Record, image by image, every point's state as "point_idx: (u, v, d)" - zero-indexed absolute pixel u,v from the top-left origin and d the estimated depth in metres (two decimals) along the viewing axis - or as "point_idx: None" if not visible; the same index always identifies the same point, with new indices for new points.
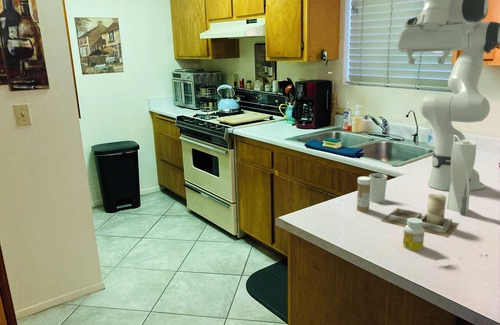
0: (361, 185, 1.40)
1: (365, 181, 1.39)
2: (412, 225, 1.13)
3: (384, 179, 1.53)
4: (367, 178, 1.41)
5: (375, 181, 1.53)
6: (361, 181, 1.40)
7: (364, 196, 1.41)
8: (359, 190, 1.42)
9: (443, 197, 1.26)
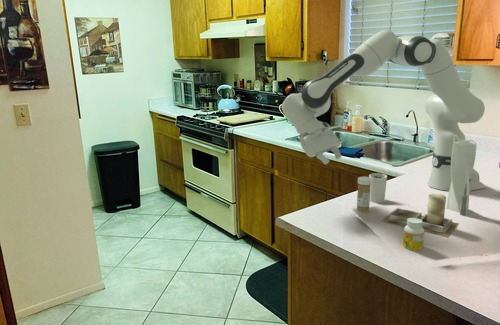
0: (361, 185, 1.40)
1: (365, 181, 1.39)
2: (412, 225, 1.13)
3: (384, 179, 1.53)
4: (367, 178, 1.41)
5: (375, 181, 1.53)
6: (361, 181, 1.40)
7: (364, 196, 1.41)
8: (359, 190, 1.42)
9: (443, 197, 1.26)
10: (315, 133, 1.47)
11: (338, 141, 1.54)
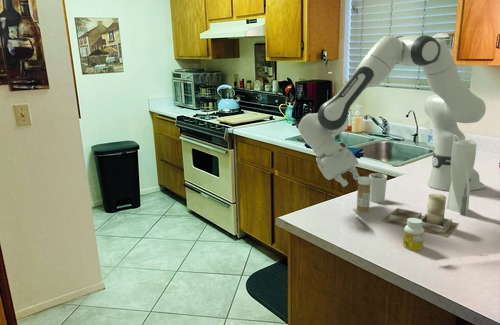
0: (361, 185, 1.40)
1: (365, 181, 1.39)
2: (412, 225, 1.13)
3: (384, 179, 1.53)
4: (367, 178, 1.41)
5: (375, 181, 1.53)
6: (361, 181, 1.40)
7: (364, 196, 1.41)
8: (359, 190, 1.42)
9: (443, 197, 1.26)
10: (333, 154, 1.45)
11: (356, 161, 1.52)
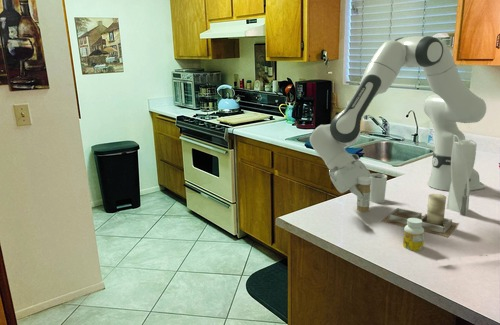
0: (361, 185, 1.40)
1: (365, 181, 1.39)
2: (412, 225, 1.13)
3: (384, 179, 1.53)
4: (367, 178, 1.41)
5: (375, 181, 1.53)
6: (361, 181, 1.40)
7: (364, 196, 1.41)
8: (359, 190, 1.42)
9: (443, 197, 1.26)
10: (345, 167, 1.43)
11: (368, 173, 1.49)
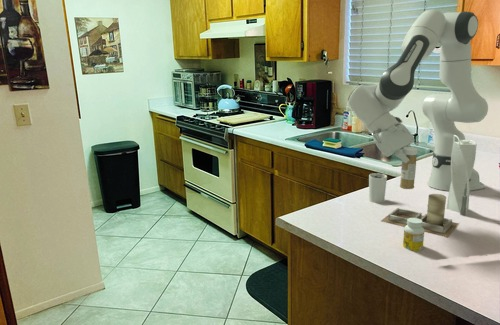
0: (407, 155, 1.28)
1: (412, 151, 1.27)
2: (412, 225, 1.13)
3: (384, 179, 1.53)
4: (413, 148, 1.28)
5: (375, 181, 1.53)
6: (407, 151, 1.28)
7: (410, 168, 1.29)
8: None
9: (443, 197, 1.26)
10: (389, 129, 1.30)
11: (412, 138, 1.36)
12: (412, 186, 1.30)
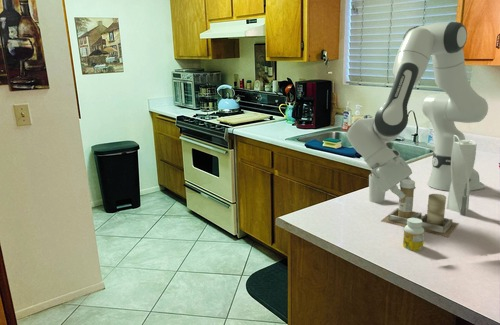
0: (404, 189, 1.31)
1: (409, 184, 1.30)
2: (412, 225, 1.13)
3: None
4: (411, 181, 1.31)
5: None
6: (404, 184, 1.30)
7: (407, 200, 1.31)
8: None
9: (443, 197, 1.26)
10: (387, 163, 1.32)
11: (410, 170, 1.39)
12: None
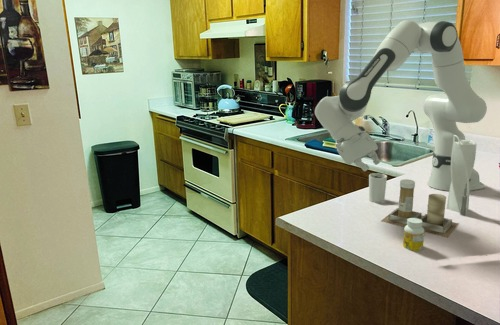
0: (404, 189, 1.31)
1: (409, 184, 1.30)
2: (412, 225, 1.13)
3: (384, 179, 1.53)
4: (411, 181, 1.31)
5: (375, 181, 1.53)
6: (404, 184, 1.30)
7: (407, 200, 1.31)
8: (402, 194, 1.32)
9: (443, 197, 1.26)
10: (352, 138, 1.39)
11: (376, 145, 1.45)
12: None
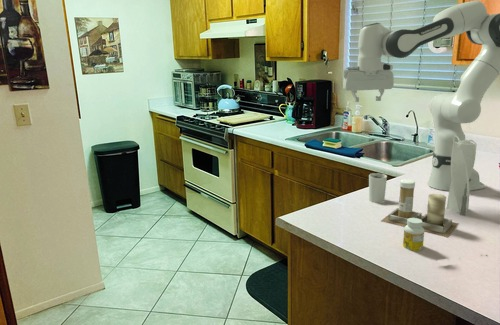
0: (404, 189, 1.31)
1: (409, 184, 1.30)
2: (412, 225, 1.13)
3: (384, 179, 1.53)
4: (411, 181, 1.31)
5: (375, 181, 1.53)
6: (404, 184, 1.30)
7: (407, 200, 1.31)
8: (402, 194, 1.32)
9: (443, 197, 1.26)
10: (365, 72, 1.58)
11: (390, 86, 1.61)
12: None
